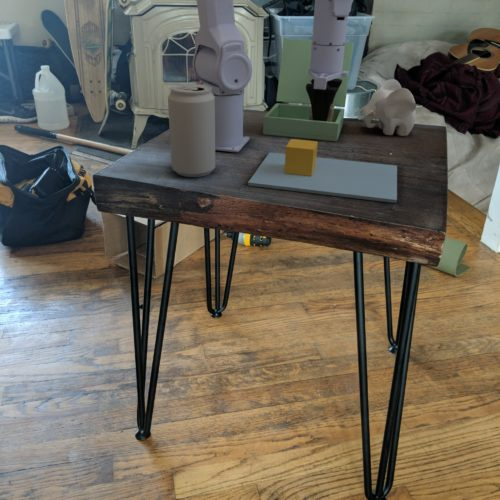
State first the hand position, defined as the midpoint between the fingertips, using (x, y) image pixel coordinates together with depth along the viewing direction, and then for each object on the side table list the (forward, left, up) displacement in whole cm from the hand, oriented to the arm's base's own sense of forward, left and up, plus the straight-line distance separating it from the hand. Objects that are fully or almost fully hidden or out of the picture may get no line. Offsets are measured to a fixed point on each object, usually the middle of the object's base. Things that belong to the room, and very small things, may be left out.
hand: (320, 122), depth 96 cm
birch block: (0, 0, -1) cm, 1 cm away
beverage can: (-15, -28, -2) cm, 32 cm away
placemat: (+4, -24, -2) cm, 24 cm away
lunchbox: (-3, 0, -2) cm, 3 cm away
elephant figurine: (+12, +4, -2) cm, 13 cm away
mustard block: (0, -24, -1) cm, 24 cm away
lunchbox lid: (-3, +8, +8) cm, 11 cm away
